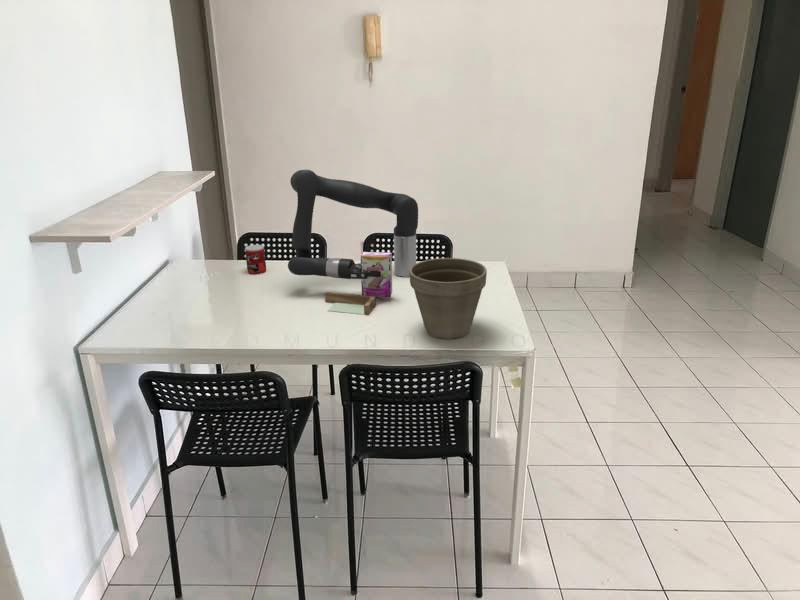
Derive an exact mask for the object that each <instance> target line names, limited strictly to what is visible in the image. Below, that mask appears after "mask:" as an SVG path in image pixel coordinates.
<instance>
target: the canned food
mask: <svg viewBox="0 0 800 600" xmlns="http://www.w3.org/2000/svg"><path fill="white" fill-rule="evenodd" d="M244 253H245V254H244V255H245V262H246V270H247V273H248V274H249V273H250V275H261V274H260V273H262V274H264V273H265V272H266V271H267V264H266V255H265V253H266V252H265V246H264V245H262V244H251V245H247V246H245V247H244Z"/></svg>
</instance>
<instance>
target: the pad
mask: <svg viewBox="0 0 800 600" xmlns="http://www.w3.org/2000/svg"><path fill="white" fill-rule="evenodd" d="M332 304H333V305H332V306H331V307H329V308H328V310H327V312H334V313H342V314H343V313H345V314H354V315H363V314H364V305H357V304H346V303H332Z"/></svg>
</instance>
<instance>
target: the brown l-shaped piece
mask: <svg viewBox="0 0 800 600" xmlns="http://www.w3.org/2000/svg"><path fill="white" fill-rule="evenodd" d="M324 298H325V299H324V300H325V303H331V304H334V303H346V304H357V305H364V316H369V315H370V314H369V313H371V312H372V311H373V310H374V309H375V307H376V306H377V297H376V296H366V295H362V294H355V293H342V292H331V291H326V292H324ZM373 308H374V309H373Z"/></svg>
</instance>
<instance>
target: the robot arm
mask: <svg viewBox="0 0 800 600" xmlns="http://www.w3.org/2000/svg"><path fill="white" fill-rule="evenodd" d="M290 185H291V188H292V189H293V190H294V192H295V193H296V194H297V207H296V213H295V217H294V220H293V226H292V227H293V228H292V241H291V243H292V244H291V245H292V248H293V249H295V250H294V251H295V256H293V257H291V259H289V261H288V263H287V269H288V270H289V272H290V273H291V274H293V275H295V276H317V277H319V276H320V277H329V278H334V279H343V280H345V279H347V280H361V279H367V277H368V278H369V277H381V272H380V271H371V272H370V270H364V269H363V272H361V262H358V263H356V262H355V261H354V259H352V258H341V257H333V258H332V257H331V258H330V257H316V258H315V257H314V258H313V253H312V249H311V248H312V247H311V244H312V230H313V229H312V228H313V215H314V214H313V213H314V207H315V202H316V197H323V198H325V199H329V200H332V201H334V202H337V203H341V204H343V205H347V206H352V207H354V208H359V209H379V210H383V211H386V212H388V213H391V214H393V215H395V216H396V225H395V226H394V228H393V255H394V258H393V260H394V262H393V263H394V264H393V266H394V267H393V269H394V271H393V272H394V273H395V274H396V276H397V275H398V277H400V276H402V277H405V278H408V277H409V269H410V267H411V266H413V265H414V264H416V263H417V229H418V226H419V206H418V202H417V201H416V199H415V198H413V197H411V196H409V195H407V194H404V193H396V192H392V191H391V192H389V191H383V190H380V189H377V188H375V187H373V186H370V185H367V184H364V183H359V182H355V181H351V180H343V179H336V178H327V177H324V176H320V175H317V173H315V172H314V171H313V170H311V169H299V170H297V171H295V172H294V173H293V174H292V176H291V177H290ZM394 273H393V274H394ZM361 274H363V277H361ZM395 274H394V275H395ZM402 277H401V278H402ZM409 278H410V277H409Z"/></svg>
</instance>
